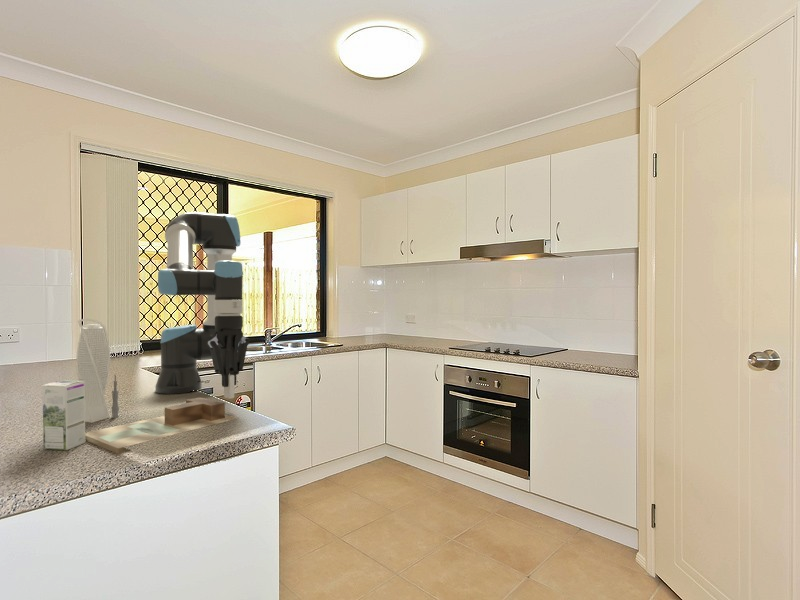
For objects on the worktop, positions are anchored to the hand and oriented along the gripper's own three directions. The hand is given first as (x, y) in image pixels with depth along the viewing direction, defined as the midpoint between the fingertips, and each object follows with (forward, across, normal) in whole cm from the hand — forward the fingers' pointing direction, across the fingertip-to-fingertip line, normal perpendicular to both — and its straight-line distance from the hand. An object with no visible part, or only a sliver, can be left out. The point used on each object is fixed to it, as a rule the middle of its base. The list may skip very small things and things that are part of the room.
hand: (229, 397), depth 130 cm
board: (+5, -18, 0) cm, 19 cm away
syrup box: (+5, -38, +6) cm, 39 cm away
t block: (+4, -11, 0) cm, 12 cm away
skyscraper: (+5, -26, +21) cm, 34 cm away
